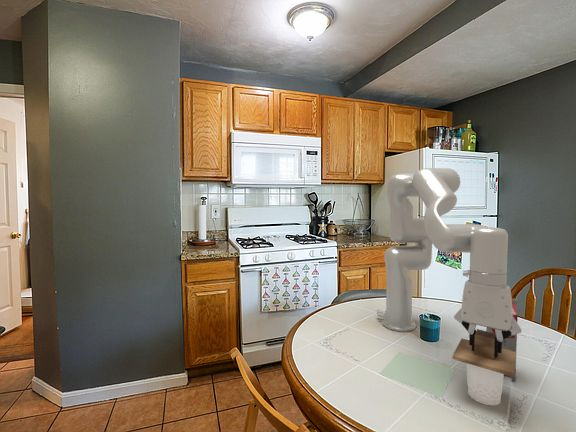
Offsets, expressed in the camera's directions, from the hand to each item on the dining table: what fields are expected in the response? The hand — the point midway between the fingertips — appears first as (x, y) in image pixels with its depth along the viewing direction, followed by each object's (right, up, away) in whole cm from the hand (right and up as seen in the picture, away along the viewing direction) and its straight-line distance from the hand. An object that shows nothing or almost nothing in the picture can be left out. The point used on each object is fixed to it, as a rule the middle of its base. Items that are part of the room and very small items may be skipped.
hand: (485, 351), depth 74 cm
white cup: (0, -13, +1) cm, 13 cm away
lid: (0, -1, 0) cm, 1 cm away
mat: (-12, -12, +11) cm, 20 cm away
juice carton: (+12, -12, +12) cm, 21 cm away
